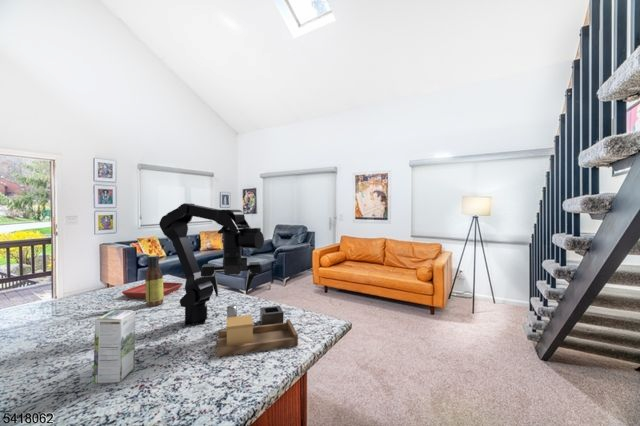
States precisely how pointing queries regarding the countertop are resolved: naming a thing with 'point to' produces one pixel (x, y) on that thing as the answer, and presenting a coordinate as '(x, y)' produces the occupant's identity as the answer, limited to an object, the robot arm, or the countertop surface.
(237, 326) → the tan cardboard box
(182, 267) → the robot arm
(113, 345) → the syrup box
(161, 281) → the sauce bottle
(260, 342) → the bay
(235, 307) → the rounded metal peg
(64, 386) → the countertop surface
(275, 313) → the square hollow tube
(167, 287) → the plant saucer
